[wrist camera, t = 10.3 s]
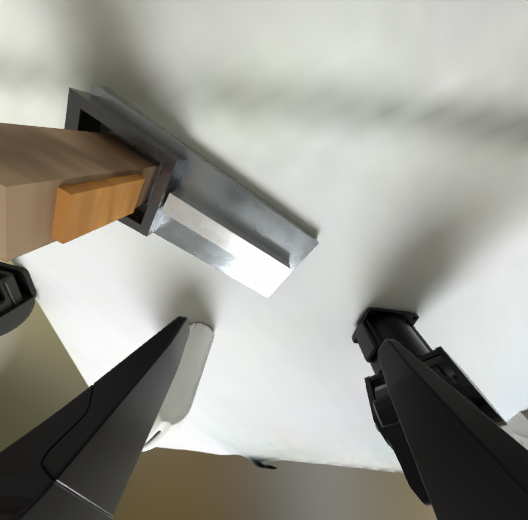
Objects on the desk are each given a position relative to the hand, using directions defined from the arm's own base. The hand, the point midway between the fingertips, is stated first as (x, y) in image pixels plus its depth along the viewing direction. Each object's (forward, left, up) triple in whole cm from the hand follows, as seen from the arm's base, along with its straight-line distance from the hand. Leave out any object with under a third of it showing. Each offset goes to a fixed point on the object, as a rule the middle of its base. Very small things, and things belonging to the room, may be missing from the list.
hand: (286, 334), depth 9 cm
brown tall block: (+14, -4, -12) cm, 19 cm away
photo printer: (+11, +20, -13) cm, 26 cm away
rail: (+8, -1, -13) cm, 15 cm away
